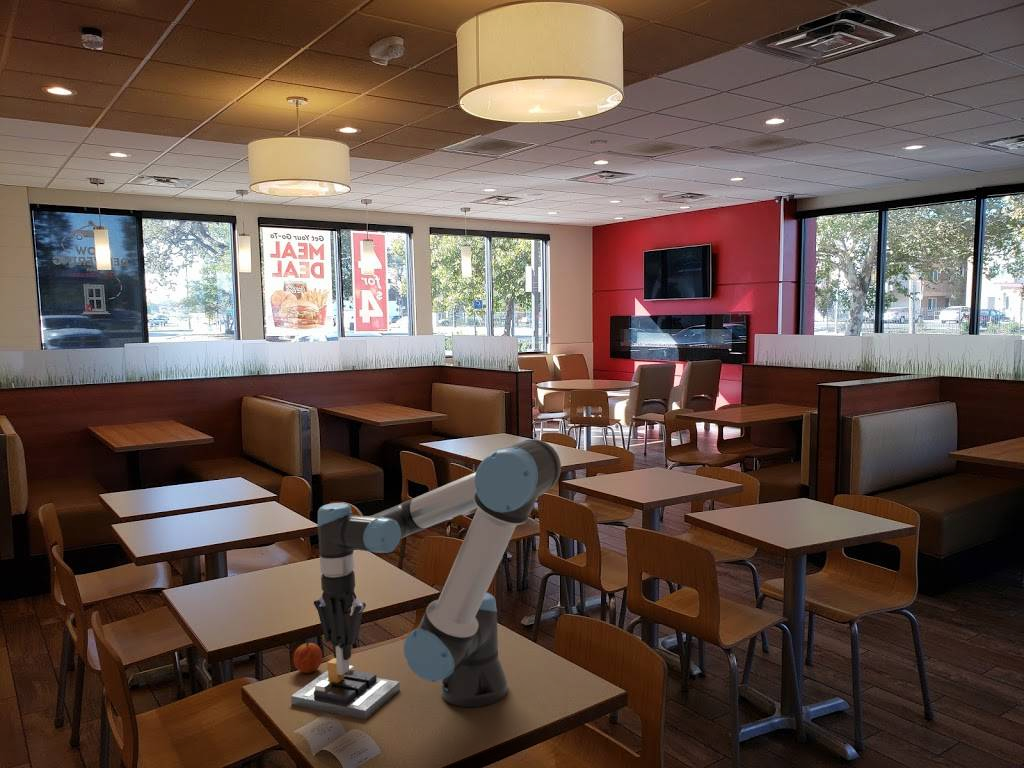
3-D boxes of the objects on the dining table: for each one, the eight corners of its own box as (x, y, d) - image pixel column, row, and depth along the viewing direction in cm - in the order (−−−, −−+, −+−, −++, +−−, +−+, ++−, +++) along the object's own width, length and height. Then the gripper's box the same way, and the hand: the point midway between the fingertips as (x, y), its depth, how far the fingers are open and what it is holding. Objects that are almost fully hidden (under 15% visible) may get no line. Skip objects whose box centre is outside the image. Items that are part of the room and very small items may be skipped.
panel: (399, 689, 175) (398, 670, 175) (365, 719, 163) (364, 698, 162) (329, 677, 183) (328, 658, 183) (291, 704, 171) (290, 684, 170)
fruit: (295, 667, 190) (293, 636, 189) (323, 663, 191) (321, 633, 191) (293, 679, 183) (291, 647, 182) (322, 675, 184) (321, 644, 184)
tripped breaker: (344, 677, 174) (343, 659, 174) (337, 682, 172) (336, 663, 172) (335, 676, 175) (334, 657, 175) (328, 681, 173) (327, 662, 173)
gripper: (371, 569, 172) (376, 669, 174) (324, 564, 177) (330, 661, 179) (351, 580, 165) (357, 683, 167) (303, 574, 170) (309, 675, 172)
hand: (343, 672), depth 173 cm, fingers closed
